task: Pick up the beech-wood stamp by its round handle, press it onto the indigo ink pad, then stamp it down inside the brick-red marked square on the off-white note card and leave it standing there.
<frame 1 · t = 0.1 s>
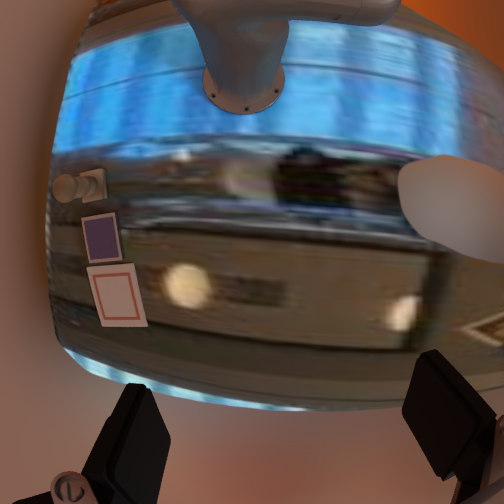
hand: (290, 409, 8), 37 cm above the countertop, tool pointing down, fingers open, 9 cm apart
ink pad: (104, 237, 44), on the countertop
note card: (116, 296, 46), on the countertop
stamp: (97, 185, 41), on the countertop
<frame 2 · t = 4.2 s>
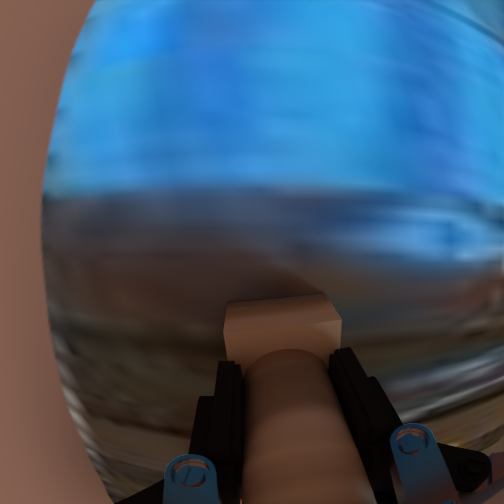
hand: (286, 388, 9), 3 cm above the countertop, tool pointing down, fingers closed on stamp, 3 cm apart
stamp: (279, 348, 12), on the countertop, touching gripper
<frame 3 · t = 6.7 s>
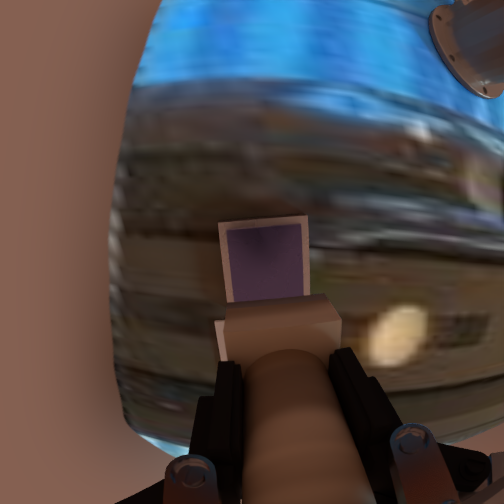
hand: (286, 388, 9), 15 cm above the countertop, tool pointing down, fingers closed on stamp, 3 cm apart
ink pad: (265, 263, 24), on the countertop
stamp: (279, 348, 12), point 12 cm above the countertop, touching gripper
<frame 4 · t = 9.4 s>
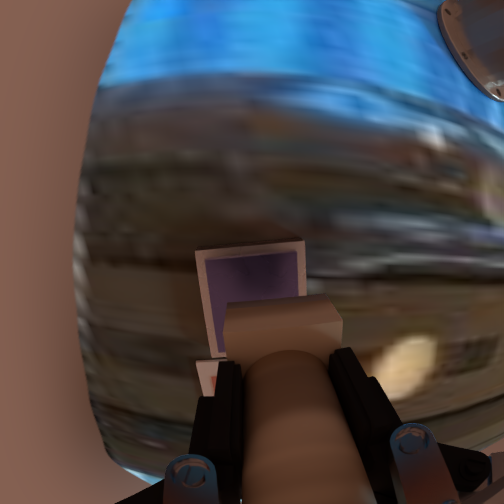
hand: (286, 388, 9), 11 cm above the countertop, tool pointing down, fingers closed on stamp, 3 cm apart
ink pad: (254, 297, 20), on the countertop
note card: (264, 408, 22), on the countertop
stamp: (279, 349, 12), point 8 cm above the countertop, touching gripper
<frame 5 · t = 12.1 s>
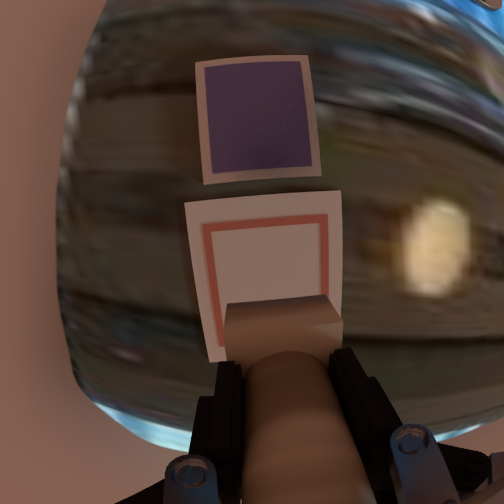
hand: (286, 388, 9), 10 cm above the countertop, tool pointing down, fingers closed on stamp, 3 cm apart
ink pad: (256, 117, 16), on the countertop
note card: (270, 284, 19), on the countertop
stamp: (279, 350, 12), point 8 cm above the countertop, touching gripper
when the fingers open (3 cm above the countertop, at t = 14.6 s): stamp stays where it is, resting on note card.
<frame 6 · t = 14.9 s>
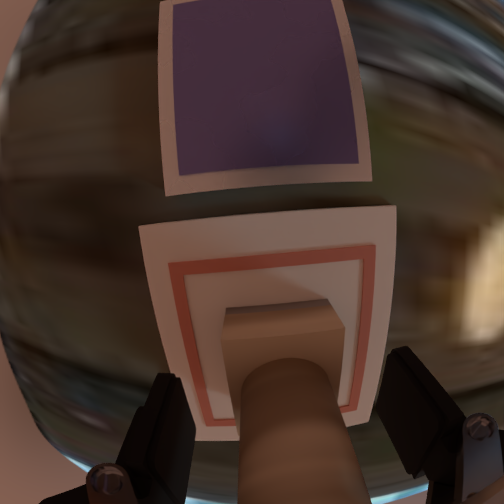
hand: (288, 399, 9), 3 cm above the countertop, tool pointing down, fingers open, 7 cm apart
ink pad: (259, 81, 9), on the countertop
note card: (279, 351, 12), on the countertop
stamp: (279, 355, 11), resting on note card
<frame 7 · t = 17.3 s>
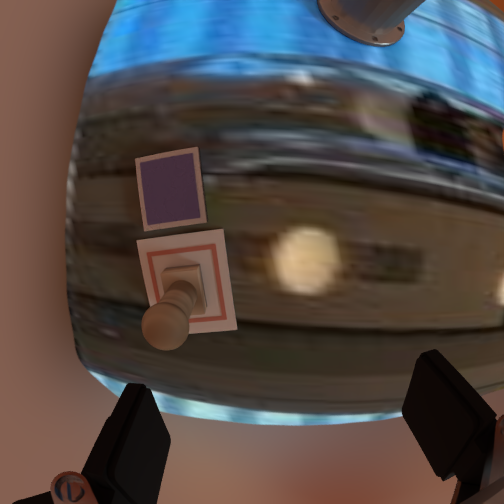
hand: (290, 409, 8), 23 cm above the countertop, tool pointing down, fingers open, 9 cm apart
ink pad: (172, 189, 29), on the countertop
note card: (187, 286, 32), on the countertop
stamp: (186, 286, 31), resting on note card
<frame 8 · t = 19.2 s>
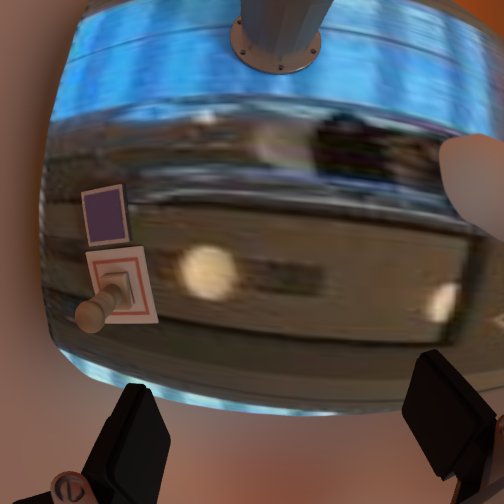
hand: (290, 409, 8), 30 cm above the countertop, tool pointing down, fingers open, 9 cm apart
ink pad: (107, 215, 36), on the countertop
note card: (121, 287, 39), on the countertop
stamp: (120, 288, 39), resting on note card
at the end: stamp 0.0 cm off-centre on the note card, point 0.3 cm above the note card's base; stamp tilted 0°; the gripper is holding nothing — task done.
